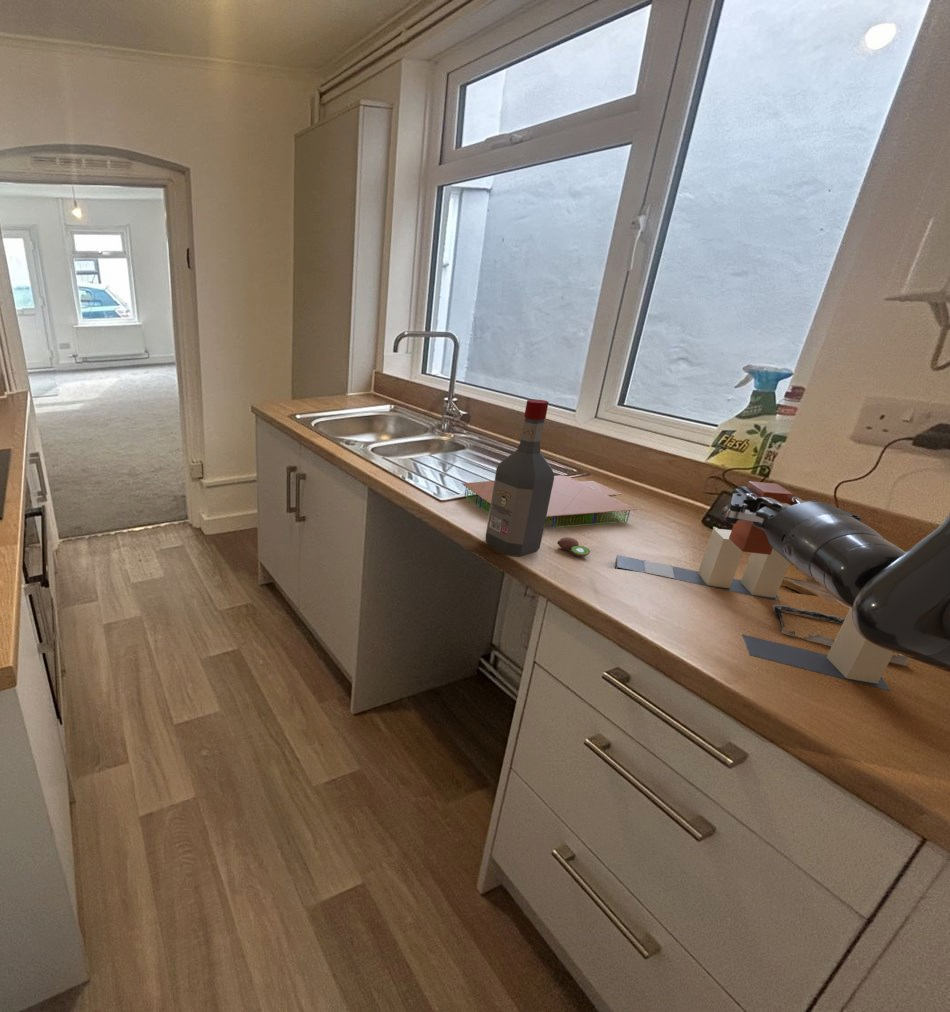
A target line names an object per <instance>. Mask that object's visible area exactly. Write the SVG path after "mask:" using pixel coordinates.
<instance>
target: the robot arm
mask: <svg viewBox="0 0 950 1012" xmlns="http://www.w3.org/2000/svg"><path fill="white" fill-rule="evenodd" d="M742 520H747V521H751V522H752V523H753V525H754V526H755V527H757V528H760V529H762V530H764V531H765V533H766V536H767V539H768V541H769V543H770V545H771V546H772V547H773V549H775V550H776V551H777V552H778V553H779V554H780V555H782V556H783V557H784V558H785V559H786V560H787V561H789V562H790V564H791V566H793V567H794V568H796V569H797V570H798V571H799V572H800V573H801V574H803V575H804V576H805V577H807V578H808V579H810V580H812V582H814V583H818V584H820V585H821V586H822V587H823V588H824V589H826V590H827V591H828V592H829V593H830V594H832V595H833V596H834V597H835V598H836V599H838V600H839V601H840V602H842V603H844V604H845V605H844V606H846V605H847V606H849V607H851V608H852V619H853V623H854V626H855V628H856V629H857V631H858V633H859V634H860V635H861V636H862V637H863V638H865V639H866V640H867V641H869V642H871V643H873V644H874V645H877V646H879V647H881V648H884V649H887V650H889V651H892V652H894V654H897V655H900V654H901V655H903V656H906V657H907V658H908V659H912V660H915V661H917V662H920V663H922V664H924V665H928V666H931V667H934V668H936V669H939V670H941V671H944V672H947V673H950V512H949V513H948V514H947V515H946V517H945V519H944V520H943V521H942V522H941V524H940V525H939V526H938V527H936V529H934V530H933V531H932V532H930V533H929V534H928V535H926V536H925V537H923V538H922V539H921V540H920V541H918V542H917V543H916V544H914V545H913V546H911V547H910V548H909V549H908V550H906V551H905V550H903V549H902V548H900V547H899V546H897V545H895V544H894V543H892V542H890V541H888V540H887V539H885V538H884V537H883V536H882V535H881V534H880V533H879V532H878V531H876V530H875V529H873V528H872V527H870V526H869V525H867V524H865V523H864V522H862V521H861V520H862V516H860V515H858V514H855V513H852V512H849V511H846V510H843V509H840V508H838V507H837V506H835V505H832V504H830V503H827V502H823V501H822V502H821V501H819V500H816V499H815V500H814V499H813V500H812V499H811V500H804V499H802V498H800V497H797V496H793V498H792V501H791V503H790V505H789V504H787V503H781V502H779V501H777V500H775V499H773V498H771V497H760V496H758V495H757V494H756V493H754V492H753V491H752V490H750V489H749V488H747V486H745V485H744V486H743V485H739V486H738V487H737V488H735V491H734V492H733V493H732V495H731V500H730V503H729V505H728V508H727V511H726V515H725V520H724V521H725V523H728V524H733V525H734V524H736V523H737V521H739V522H741V521H742ZM847 606H846V607H847ZM849 607H848V608H849Z"/></svg>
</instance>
